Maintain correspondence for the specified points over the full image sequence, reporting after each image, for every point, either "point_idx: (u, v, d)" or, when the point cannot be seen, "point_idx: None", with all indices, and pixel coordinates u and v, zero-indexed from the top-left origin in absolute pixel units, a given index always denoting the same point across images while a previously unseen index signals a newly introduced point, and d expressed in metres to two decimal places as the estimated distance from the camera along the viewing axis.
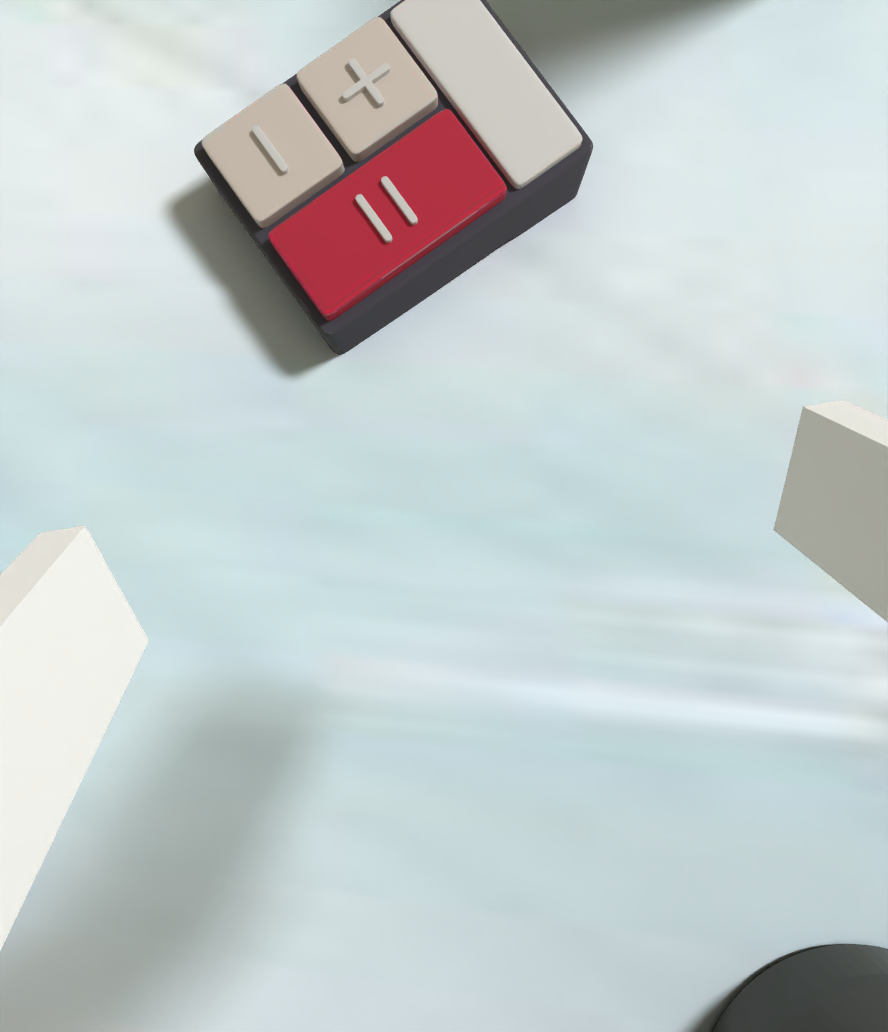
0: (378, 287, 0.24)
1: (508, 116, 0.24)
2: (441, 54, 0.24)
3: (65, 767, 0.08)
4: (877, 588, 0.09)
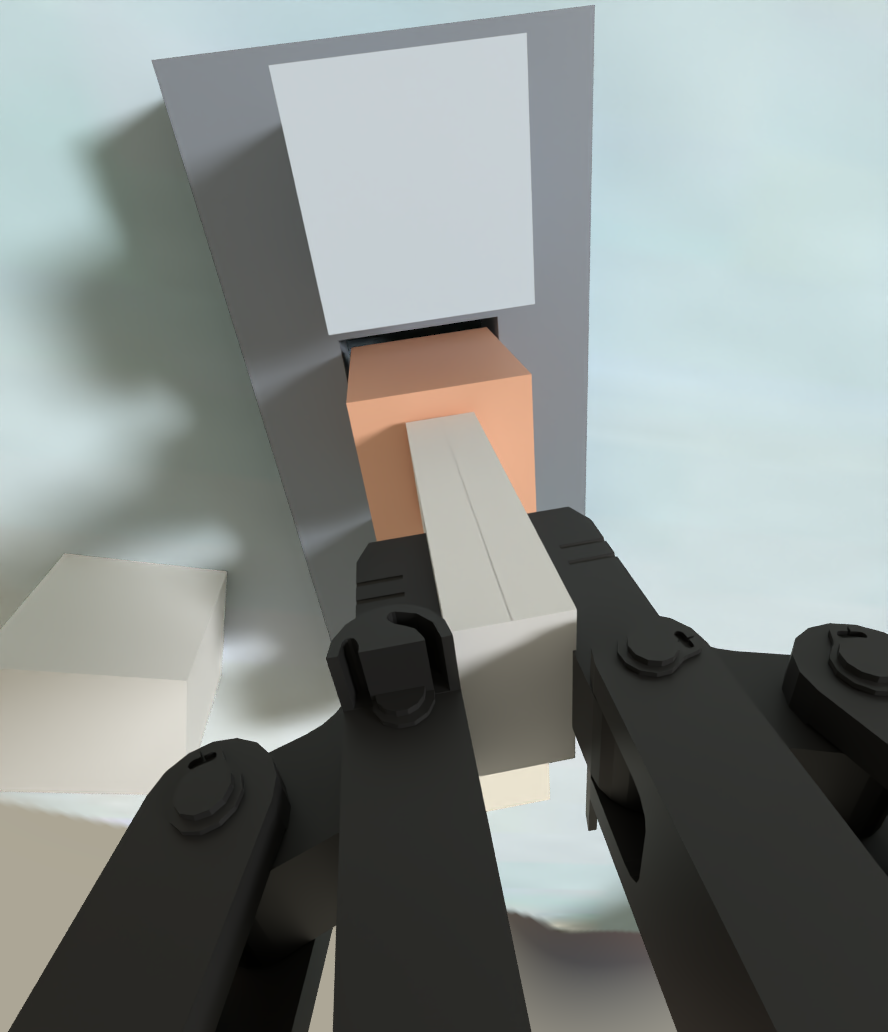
0: None
1: None
2: None
3: None
4: None
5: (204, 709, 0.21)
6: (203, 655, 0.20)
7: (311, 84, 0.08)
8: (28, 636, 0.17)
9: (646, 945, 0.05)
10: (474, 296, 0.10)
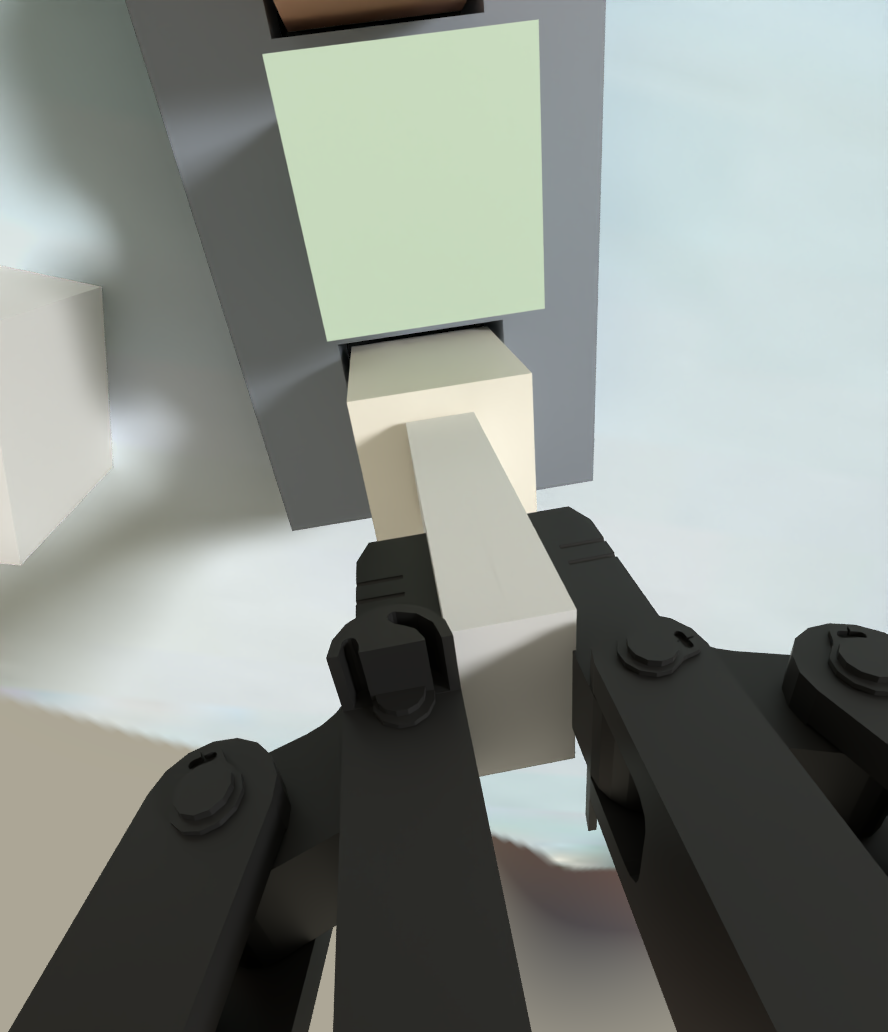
0: None
1: None
2: None
3: None
4: None
5: (64, 467, 0.15)
6: (41, 351, 0.13)
7: None
8: None
9: (646, 945, 0.05)
10: None
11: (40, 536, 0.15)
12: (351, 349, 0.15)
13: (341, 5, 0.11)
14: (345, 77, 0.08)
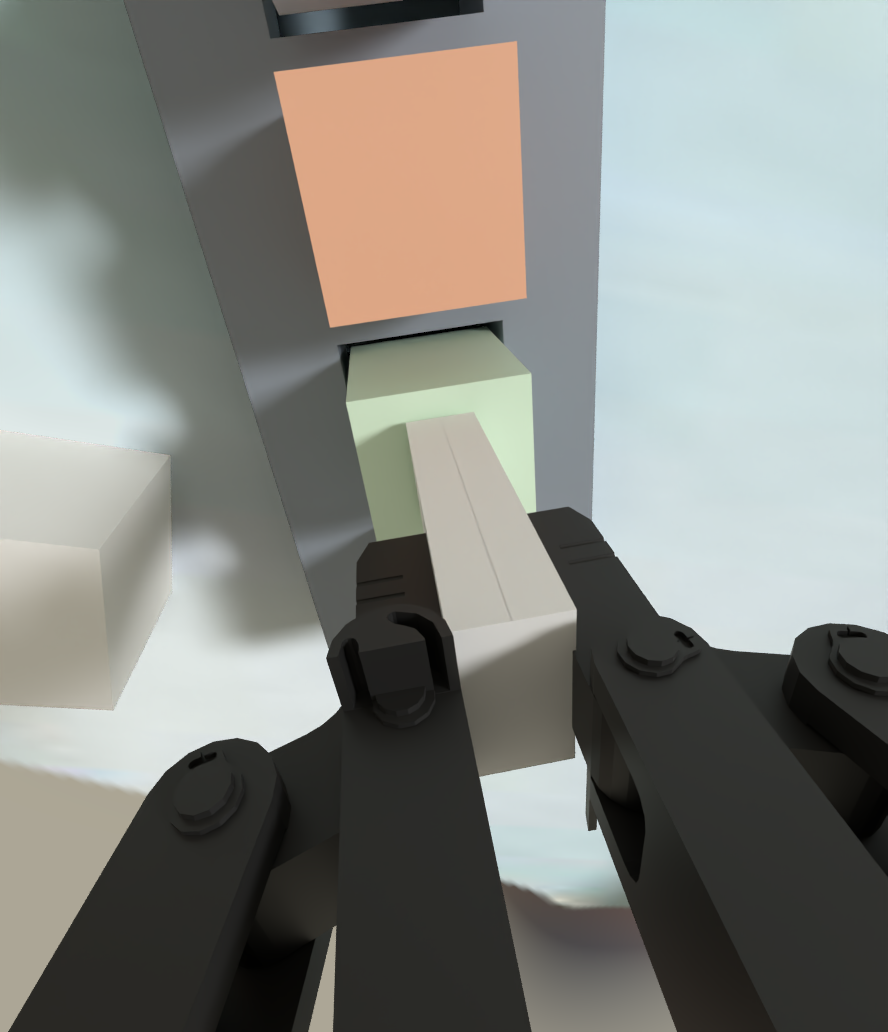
0: None
1: None
2: None
3: None
4: None
5: (141, 615, 0.18)
6: (132, 537, 0.16)
7: None
8: None
9: (646, 945, 0.05)
10: None
11: (125, 679, 0.17)
12: None
13: None
14: (400, 410, 0.12)
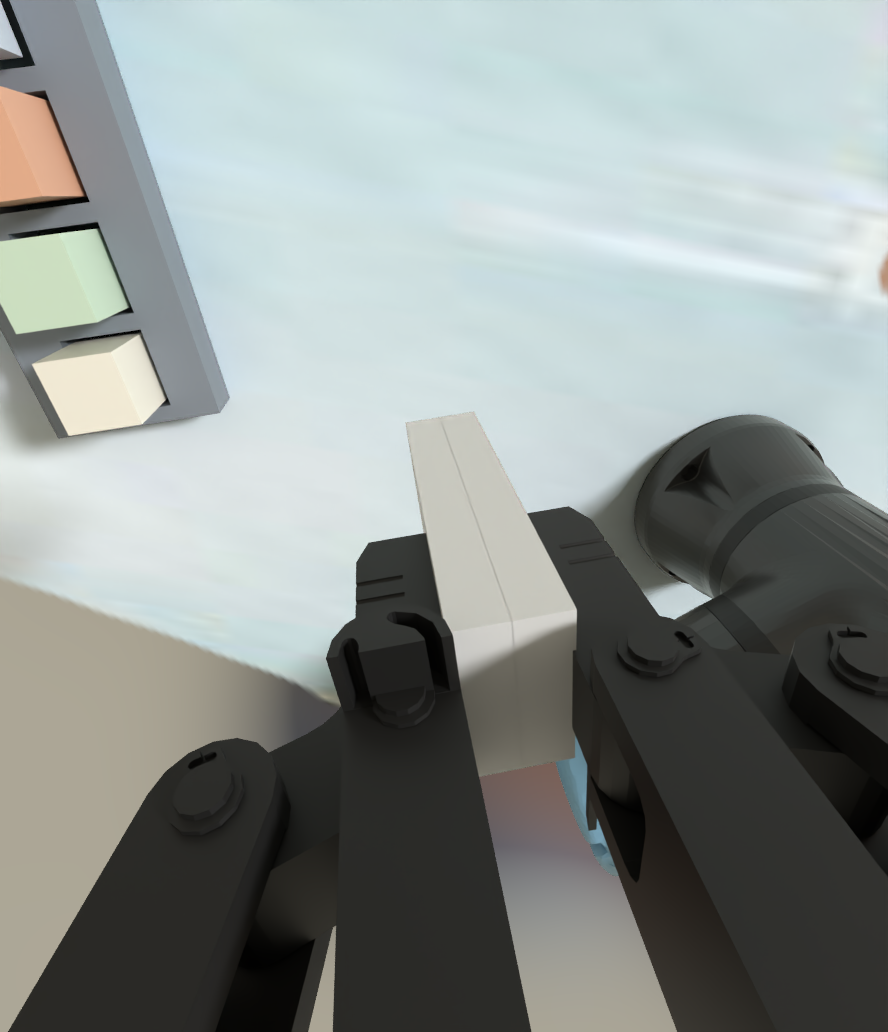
0: None
1: None
2: None
3: None
4: None
5: None
6: None
7: None
8: None
9: (646, 945, 0.05)
10: None
11: None
12: (73, 343, 0.32)
13: (22, 203, 0.27)
14: None
